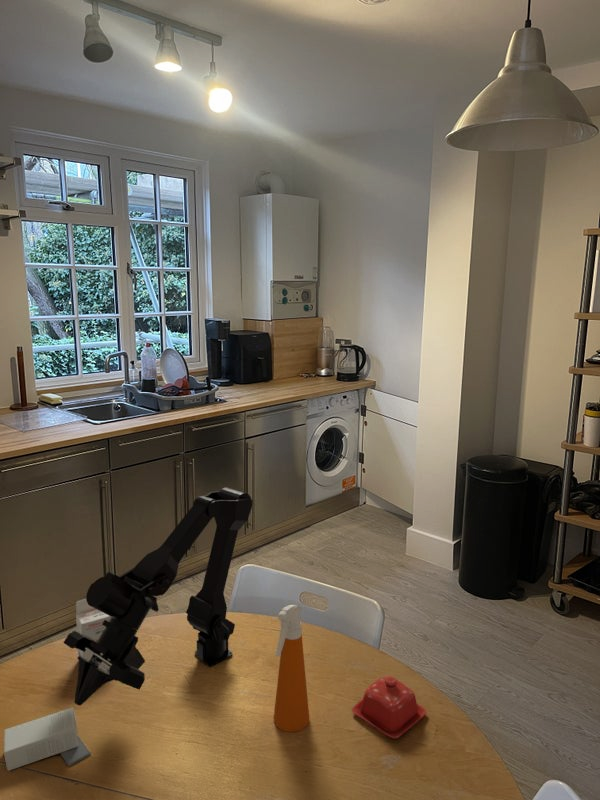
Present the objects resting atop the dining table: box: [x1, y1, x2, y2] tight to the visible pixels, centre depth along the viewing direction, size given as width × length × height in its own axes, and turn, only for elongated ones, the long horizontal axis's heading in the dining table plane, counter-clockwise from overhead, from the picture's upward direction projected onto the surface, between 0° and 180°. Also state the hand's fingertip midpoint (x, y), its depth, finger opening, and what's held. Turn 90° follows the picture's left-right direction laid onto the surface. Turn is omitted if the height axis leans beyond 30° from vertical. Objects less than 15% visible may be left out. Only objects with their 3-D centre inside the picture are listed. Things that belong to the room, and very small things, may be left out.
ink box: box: [75, 598, 112, 660], centre depth 135 cm, size 8×5×15 cm, turn 123°
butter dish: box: [351, 675, 427, 739], centre depth 119 cm, size 12×12×8 cm
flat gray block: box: [59, 736, 91, 767], centre depth 110 cm, size 4×7×1 cm, turn 43°
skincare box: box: [3, 707, 79, 772], centre depth 110 cm, size 6×4×12 cm
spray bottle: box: [273, 604, 310, 733], centre depth 114 cm, size 7×11×26 cm, turn 158°
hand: (77, 704), depth 110 cm, fingers closed
